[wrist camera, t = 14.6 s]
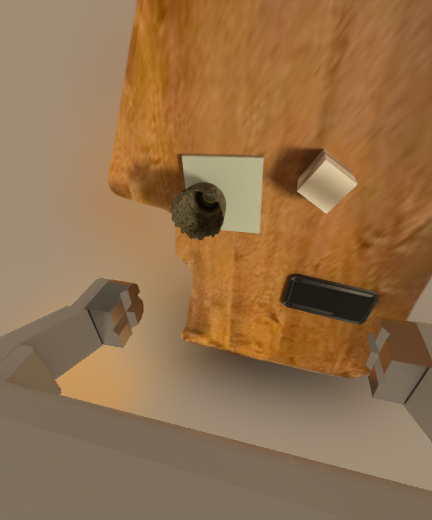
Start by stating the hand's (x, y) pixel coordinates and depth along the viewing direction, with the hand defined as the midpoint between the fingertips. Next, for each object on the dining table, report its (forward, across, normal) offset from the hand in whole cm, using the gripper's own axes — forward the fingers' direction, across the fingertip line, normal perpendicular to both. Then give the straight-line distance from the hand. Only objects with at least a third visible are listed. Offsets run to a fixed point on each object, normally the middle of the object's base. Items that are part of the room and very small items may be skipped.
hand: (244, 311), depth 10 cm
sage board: (+34, +9, +10) cm, 37 cm away
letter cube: (+34, -6, +6) cm, 35 cm away
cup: (+33, +11, +10) cm, 36 cm away
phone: (+35, -10, +29) cm, 46 cm away
